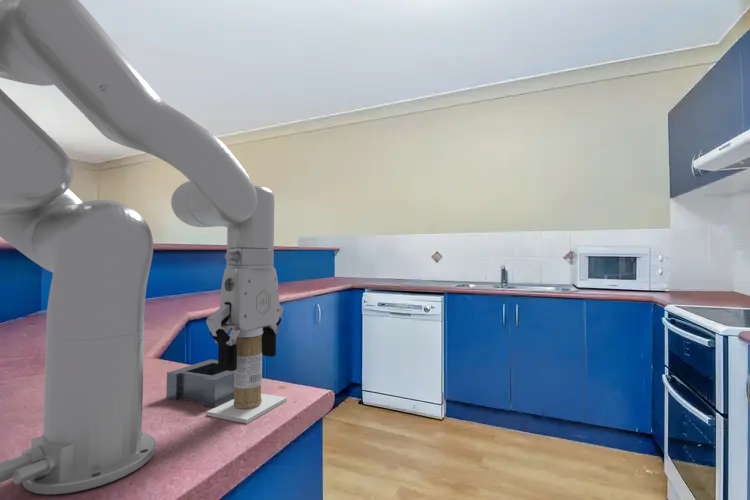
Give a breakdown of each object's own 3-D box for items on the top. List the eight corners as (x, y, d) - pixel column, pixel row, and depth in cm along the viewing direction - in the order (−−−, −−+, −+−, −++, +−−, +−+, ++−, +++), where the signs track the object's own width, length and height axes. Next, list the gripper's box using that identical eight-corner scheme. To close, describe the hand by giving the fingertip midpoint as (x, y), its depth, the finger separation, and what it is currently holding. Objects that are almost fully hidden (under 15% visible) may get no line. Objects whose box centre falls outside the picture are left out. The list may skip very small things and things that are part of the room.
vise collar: (214, 407, 63) (214, 380, 63) (166, 398, 67) (166, 372, 67) (254, 388, 72) (255, 365, 72) (210, 381, 76) (210, 359, 76)
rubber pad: (246, 423, 56) (247, 419, 56) (206, 415, 59) (206, 411, 59) (286, 401, 66) (286, 397, 66) (249, 394, 69) (249, 391, 69)
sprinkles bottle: (255, 397, 65) (256, 320, 66) (266, 405, 62) (267, 323, 62) (228, 404, 63) (230, 322, 63) (238, 412, 59) (239, 326, 60)
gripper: (230, 259, 54) (228, 379, 53) (298, 260, 70) (297, 353, 69) (191, 259, 57) (189, 373, 56) (265, 260, 73) (264, 349, 72)
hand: (248, 362), depth 63 cm, fingers open, 9 cm apart
